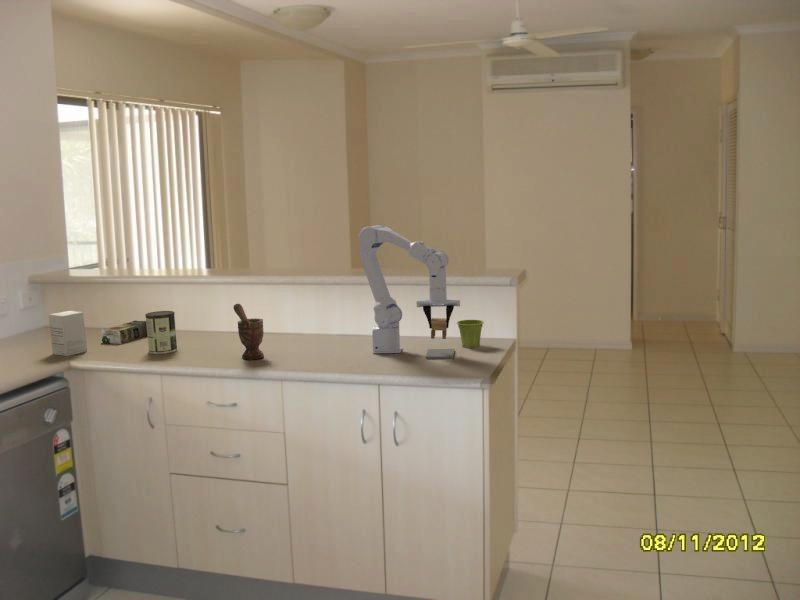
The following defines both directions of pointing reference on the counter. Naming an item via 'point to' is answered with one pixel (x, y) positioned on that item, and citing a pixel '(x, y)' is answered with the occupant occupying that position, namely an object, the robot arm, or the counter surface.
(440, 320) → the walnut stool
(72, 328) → the supplement box
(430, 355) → the slate mat
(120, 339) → the juice carton
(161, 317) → the coffee can
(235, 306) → the mortar and pestle
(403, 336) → the counter surface
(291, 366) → the counter surface
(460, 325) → the plant pot
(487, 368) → the counter surface
